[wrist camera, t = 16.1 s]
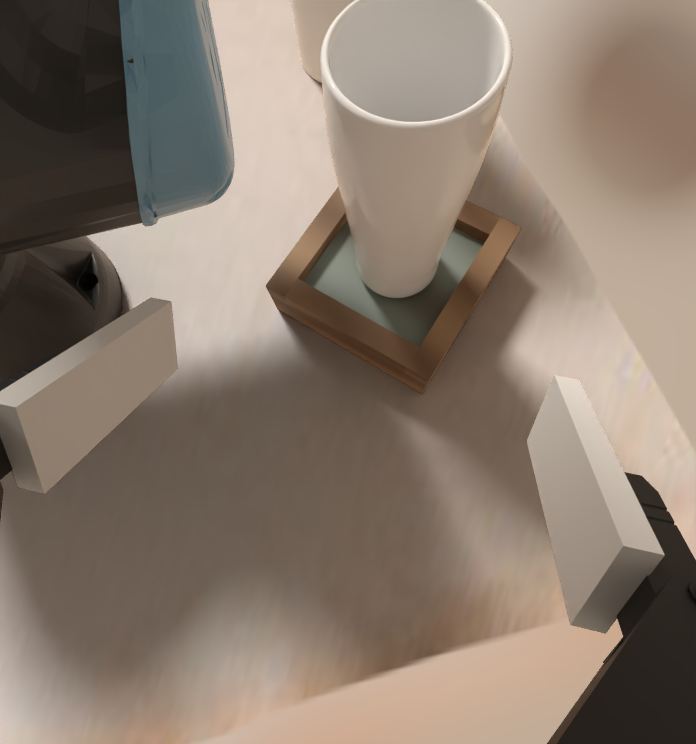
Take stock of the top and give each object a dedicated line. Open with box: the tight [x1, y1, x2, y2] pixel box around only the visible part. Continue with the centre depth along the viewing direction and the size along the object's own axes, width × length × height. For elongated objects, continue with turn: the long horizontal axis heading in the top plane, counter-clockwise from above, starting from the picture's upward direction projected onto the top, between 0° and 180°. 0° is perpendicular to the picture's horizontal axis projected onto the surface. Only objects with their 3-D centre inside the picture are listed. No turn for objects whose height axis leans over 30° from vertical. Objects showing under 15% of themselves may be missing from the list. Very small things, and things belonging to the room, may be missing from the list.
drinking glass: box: [320, 0, 512, 298], centre depth 23 cm, size 7×7×15 cm
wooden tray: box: [266, 186, 522, 394], centre depth 31 cm, size 12×12×4 cm
